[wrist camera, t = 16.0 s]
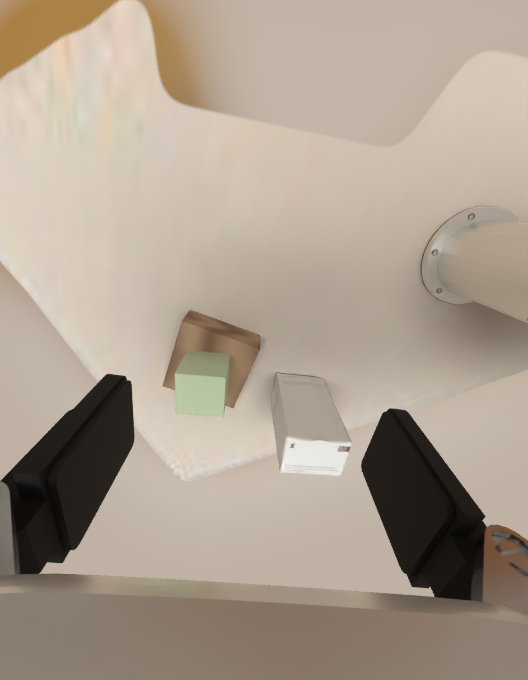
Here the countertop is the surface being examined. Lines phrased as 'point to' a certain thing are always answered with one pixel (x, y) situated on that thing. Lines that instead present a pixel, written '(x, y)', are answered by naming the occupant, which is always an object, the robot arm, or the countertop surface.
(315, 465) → the skincare box
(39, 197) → the countertop surface
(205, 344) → the walnut block
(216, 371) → the sage cube
